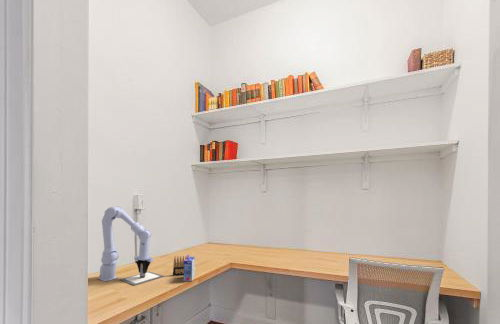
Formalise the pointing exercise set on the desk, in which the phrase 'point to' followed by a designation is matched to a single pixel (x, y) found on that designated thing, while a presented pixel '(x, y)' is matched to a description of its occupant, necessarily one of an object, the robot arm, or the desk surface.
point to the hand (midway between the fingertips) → (142, 272)
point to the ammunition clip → (178, 266)
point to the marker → (141, 271)
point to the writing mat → (141, 278)
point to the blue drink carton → (189, 268)
